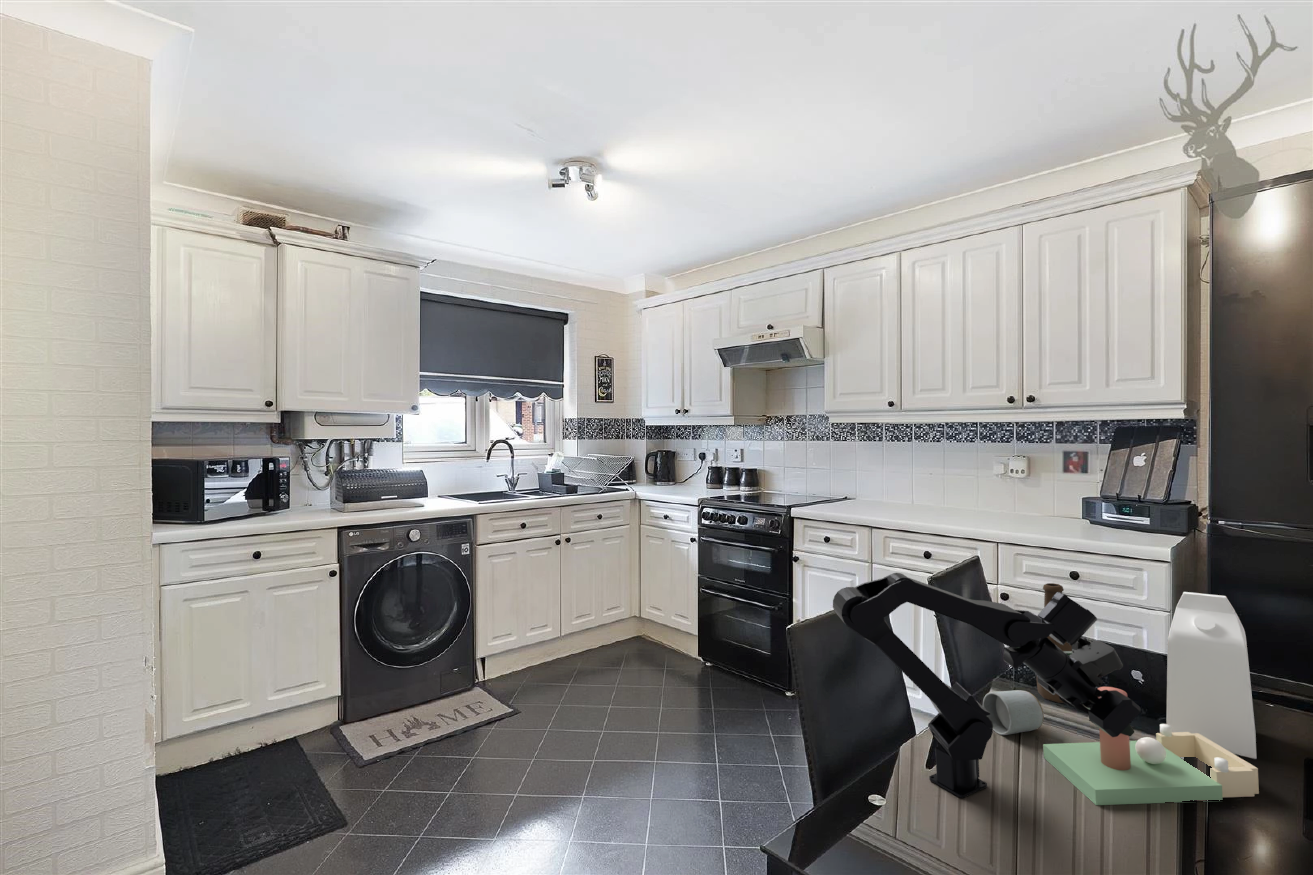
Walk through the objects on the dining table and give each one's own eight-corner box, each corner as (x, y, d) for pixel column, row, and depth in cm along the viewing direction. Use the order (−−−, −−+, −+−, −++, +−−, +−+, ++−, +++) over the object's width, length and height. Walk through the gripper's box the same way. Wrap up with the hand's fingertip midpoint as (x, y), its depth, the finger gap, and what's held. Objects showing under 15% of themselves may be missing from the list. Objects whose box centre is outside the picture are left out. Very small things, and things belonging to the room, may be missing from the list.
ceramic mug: (1048, 735, 119) (1046, 694, 119) (1011, 742, 117) (1009, 701, 117) (1006, 712, 129) (1003, 675, 129) (971, 718, 127) (969, 680, 127)
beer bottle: (1079, 692, 136) (1074, 581, 135) (1081, 706, 129) (1075, 590, 129) (1037, 686, 140) (1032, 578, 139) (1036, 699, 133) (1031, 587, 133)
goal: (1218, 798, 97) (1217, 763, 97) (1156, 755, 110) (1154, 723, 110) (1263, 796, 97) (1262, 761, 97) (1195, 753, 110) (1194, 722, 110)
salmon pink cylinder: (1121, 772, 101) (1118, 698, 101) (1095, 761, 105) (1092, 690, 105) (1136, 765, 103) (1132, 693, 103) (1109, 754, 107) (1106, 684, 106)
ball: (1158, 771, 101) (1157, 746, 101) (1130, 760, 105) (1129, 736, 105) (1171, 764, 103) (1170, 740, 103) (1144, 753, 106) (1143, 730, 106)
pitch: (1096, 805, 97) (1095, 789, 97) (1043, 757, 111) (1043, 744, 111) (1222, 800, 97) (1221, 785, 97) (1154, 753, 111) (1153, 739, 111)
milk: (1255, 732, 116) (1249, 591, 115) (1256, 758, 107) (1249, 607, 107) (1171, 714, 124) (1165, 583, 123) (1166, 738, 115) (1159, 597, 115)
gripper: (1124, 648, 94) (1203, 717, 94) (1051, 611, 113) (1117, 669, 113) (1073, 702, 95) (1152, 771, 95) (1008, 657, 114) (1074, 715, 113)
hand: (1122, 727), depth 104 cm, fingers closed on salmon pink cylinder, 4 cm apart
